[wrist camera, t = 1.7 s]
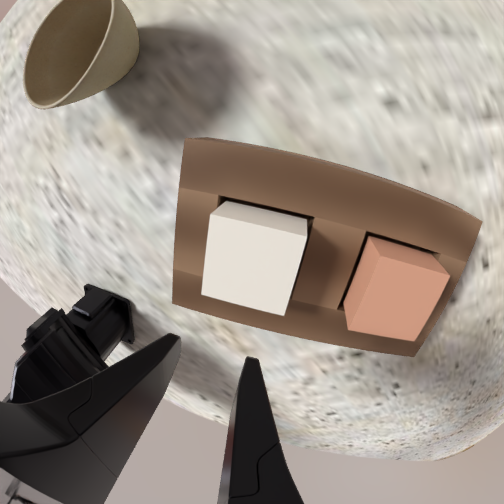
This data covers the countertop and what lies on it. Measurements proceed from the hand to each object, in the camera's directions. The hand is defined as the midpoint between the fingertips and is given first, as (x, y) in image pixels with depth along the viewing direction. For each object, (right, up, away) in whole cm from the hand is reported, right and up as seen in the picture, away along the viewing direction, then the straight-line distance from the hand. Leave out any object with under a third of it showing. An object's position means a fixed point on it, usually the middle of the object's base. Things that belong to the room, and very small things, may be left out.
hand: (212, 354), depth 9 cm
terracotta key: (+10, +2, +8) cm, 13 cm away
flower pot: (-10, +20, +8) cm, 24 cm away
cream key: (+2, +4, +9) cm, 10 cm away
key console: (+7, +4, +11) cm, 14 cm away
